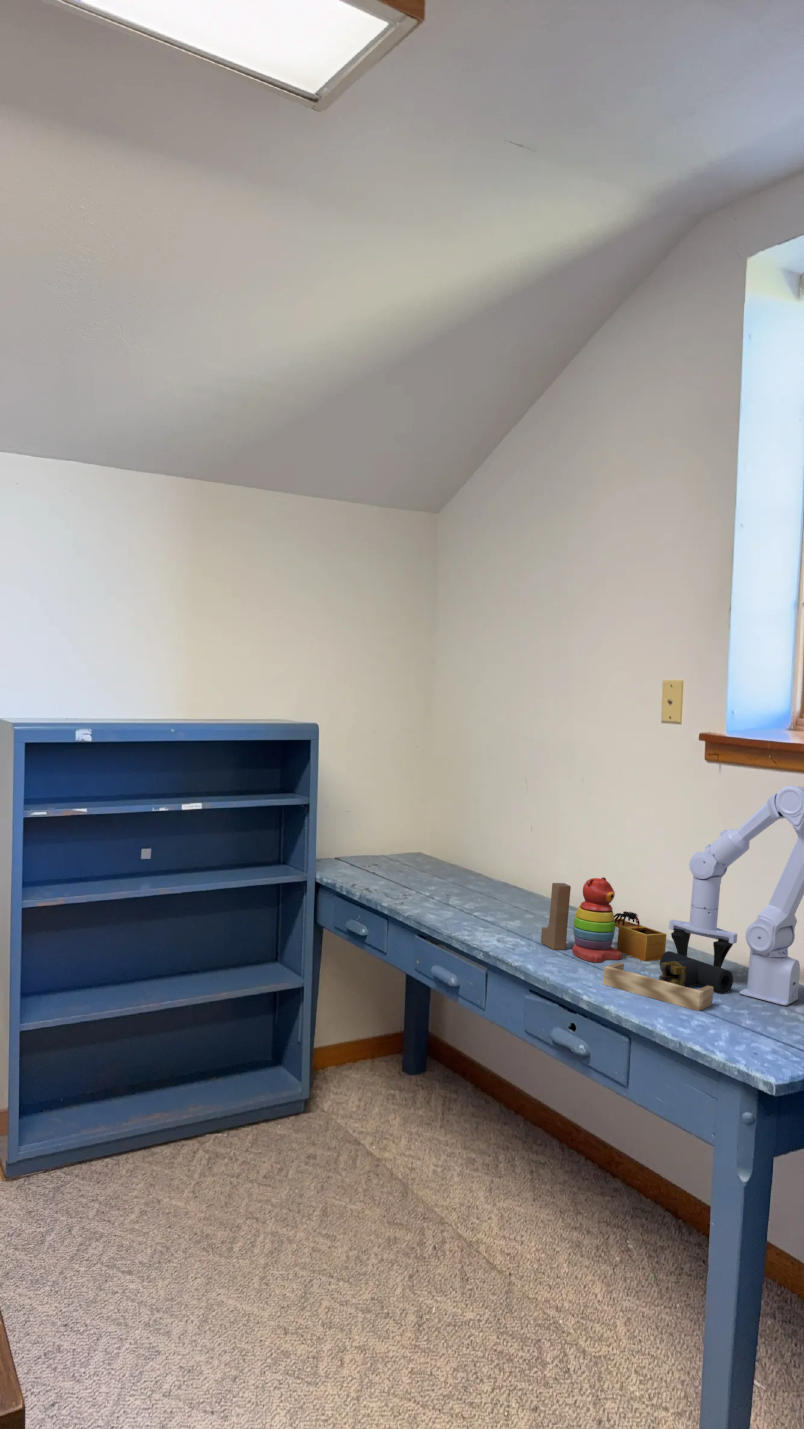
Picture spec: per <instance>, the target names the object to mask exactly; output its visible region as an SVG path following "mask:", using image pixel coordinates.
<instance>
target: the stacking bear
mask: <svg viewBox="0 0 804 1429" xmlns="http://www.w3.org/2000/svg"><path fill="white" fill-rule="evenodd" d="M615 895H616V894H615V891H614V888H613V887H612V885H611V883H610V882H609V881H607V878H606V877H604V876H603V877H601V878H597V877H593V878H590V879H587V881H585V882H584V884H583V887H582V896H583V898H584V901H582V902H580V905H579V906H578V907H577V909H576V913H575V916H574V919H573V925H572V926H573V930H572V931H573V936H574V942H575V943H574V945H573V947H572V949H571V953H572V954H573V955H574V956H575V957H577V958H579V959H581V960H584V961H586V962H590V963H602V962H603V961H606V960H607V961H608V960H609V961H610V960H613V961H618V960H619V961H620V960H622V958H623V953H621V952H620V951H618V950H617V948H614V947H612V944H613V940H614V938H615V934H616V933H615V932H616V931H615V930H616V927H615V921H614V919H615V918H614V915H615V914H614V911H613V906H612V905H611V903H612V901H613V900H614V899H615Z"/></svg>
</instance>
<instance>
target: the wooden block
mask: <svg viewBox="0 0 804 1429" xmlns="http://www.w3.org/2000/svg"><path fill="white" fill-rule="evenodd" d="M571 888H572V887H571V885H570V884H567V883H565V882H552V884H551V894H550V895H551V896H550V907H549V918H548V921H549V922H548V925H547V927H546V926H545V927H543V926H542V927H541V935H540V943H541V944H543V945H544V946H546V947H548V948H549V949H551V950H553V951H563V950H564V951H565V950H566V949H567V948H566V947H567V937H568V936H567V935H568V924H569V922H568V921H569V911H570V910H569V909H570V898H571Z"/></svg>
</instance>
